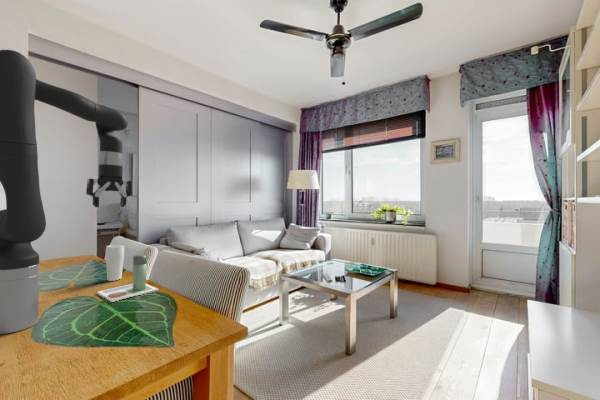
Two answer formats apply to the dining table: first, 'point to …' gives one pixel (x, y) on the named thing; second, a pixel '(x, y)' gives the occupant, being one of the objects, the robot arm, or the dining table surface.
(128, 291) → the picture board
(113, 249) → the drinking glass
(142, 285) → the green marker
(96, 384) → the dining table surface
